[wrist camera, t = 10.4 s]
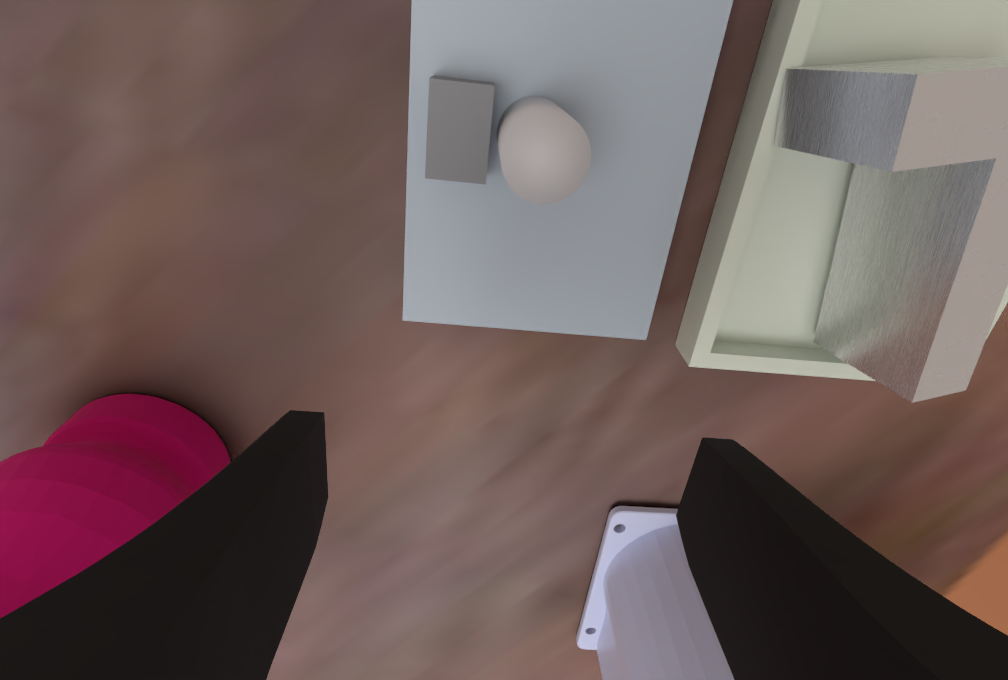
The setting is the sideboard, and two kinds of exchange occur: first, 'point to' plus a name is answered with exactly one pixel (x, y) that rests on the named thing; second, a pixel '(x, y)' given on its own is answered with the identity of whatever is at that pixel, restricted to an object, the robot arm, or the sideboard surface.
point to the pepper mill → (97, 488)
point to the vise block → (551, 157)
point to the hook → (910, 211)
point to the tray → (803, 183)
